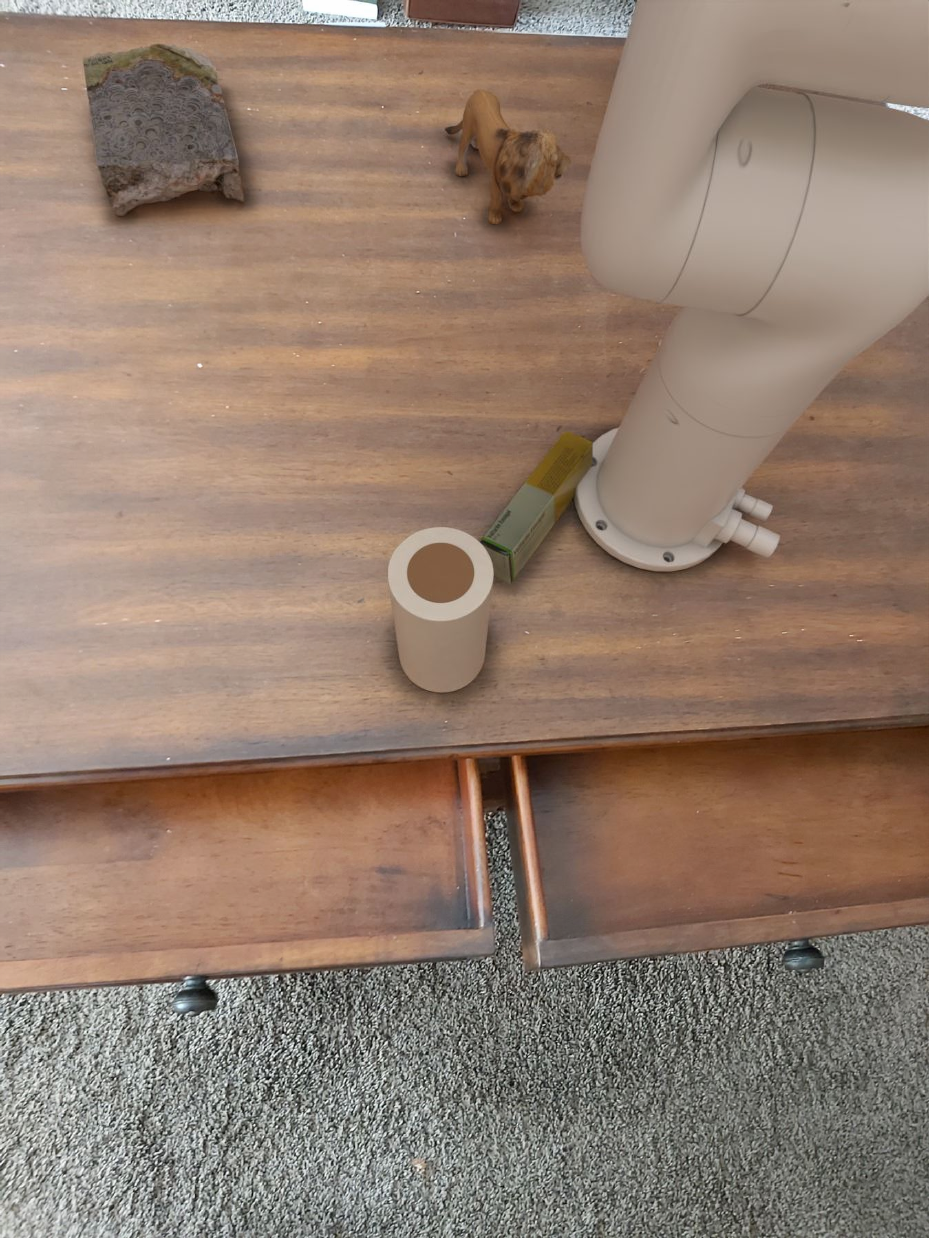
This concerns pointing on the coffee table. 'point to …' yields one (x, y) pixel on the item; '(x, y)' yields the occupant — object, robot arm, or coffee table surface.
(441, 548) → the paper towel roll
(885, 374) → the coffee table surface
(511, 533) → the medication box
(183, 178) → the geological specimen
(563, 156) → the lion figurine
